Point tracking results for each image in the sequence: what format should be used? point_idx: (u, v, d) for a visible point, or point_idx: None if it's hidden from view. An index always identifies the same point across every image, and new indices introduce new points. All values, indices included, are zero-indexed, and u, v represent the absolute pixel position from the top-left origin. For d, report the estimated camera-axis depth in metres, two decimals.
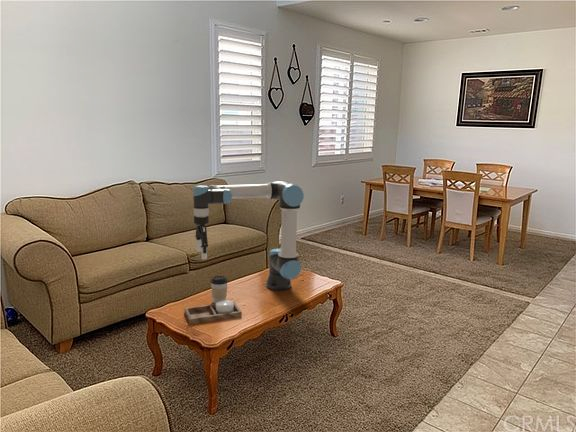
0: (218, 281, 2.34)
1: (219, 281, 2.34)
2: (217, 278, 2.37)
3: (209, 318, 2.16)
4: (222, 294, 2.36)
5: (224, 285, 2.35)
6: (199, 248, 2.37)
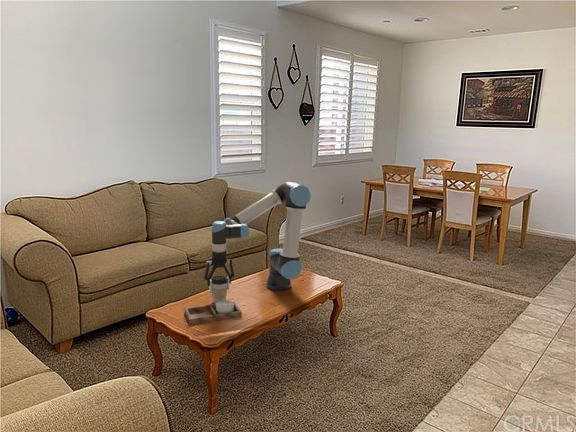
0: (218, 281, 2.34)
1: (219, 281, 2.34)
2: (217, 278, 2.37)
3: (209, 318, 2.16)
4: (222, 294, 2.36)
5: (224, 285, 2.35)
6: (227, 286, 2.40)
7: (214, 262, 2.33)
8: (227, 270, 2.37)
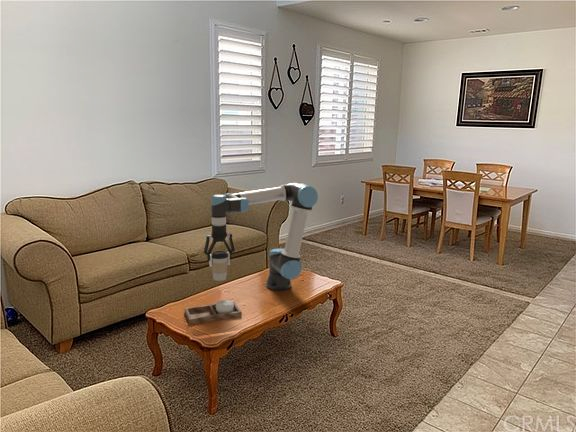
0: (218, 255, 2.31)
1: (219, 255, 2.31)
2: (217, 253, 2.34)
3: (209, 318, 2.16)
4: (222, 268, 2.33)
5: (224, 260, 2.32)
6: None
7: (214, 236, 2.30)
8: (227, 244, 2.34)
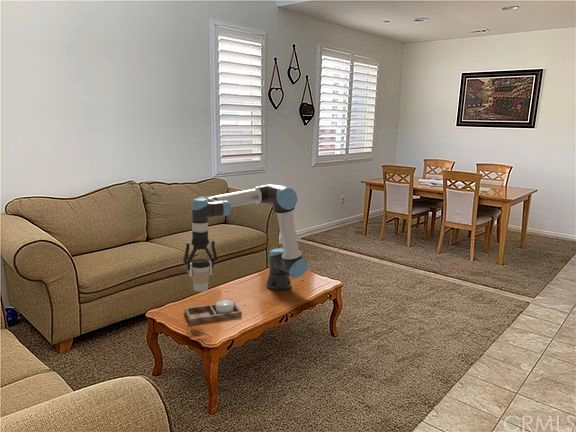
0: (199, 264, 2.12)
1: (200, 264, 2.12)
2: (198, 261, 2.16)
3: (209, 318, 2.16)
4: (203, 278, 2.14)
5: (205, 269, 2.14)
6: (209, 270, 2.19)
7: (194, 243, 2.12)
8: (209, 252, 2.15)
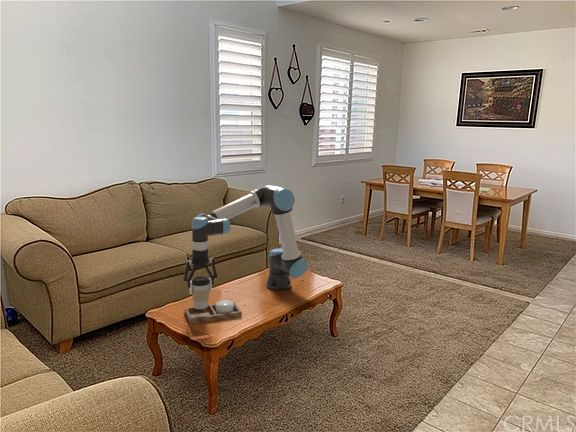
0: (199, 282, 2.14)
1: (200, 282, 2.14)
2: (198, 279, 2.17)
3: (209, 318, 2.16)
4: (203, 296, 2.16)
5: (206, 287, 2.15)
6: (209, 288, 2.20)
7: (195, 262, 2.13)
8: (209, 270, 2.17)
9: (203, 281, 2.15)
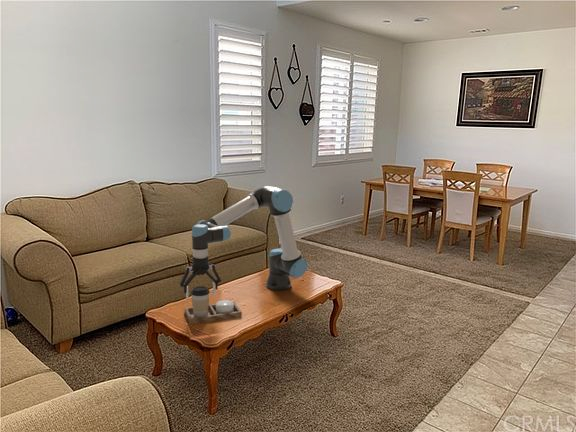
0: (199, 292, 2.15)
1: (200, 292, 2.15)
2: (198, 289, 2.19)
3: (209, 318, 2.16)
4: (203, 306, 2.17)
5: (205, 296, 2.17)
6: (213, 292, 2.21)
7: (195, 269, 2.14)
8: (211, 276, 2.18)
9: (203, 291, 2.16)
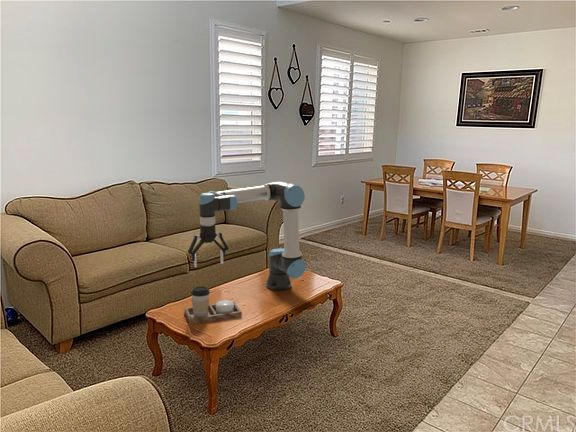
0: (199, 293, 2.15)
1: (200, 293, 2.15)
2: (198, 289, 2.18)
3: (209, 318, 2.16)
4: (203, 306, 2.17)
5: (205, 297, 2.16)
6: (221, 260, 2.25)
7: (202, 237, 2.18)
8: (219, 244, 2.22)
9: (203, 291, 2.16)
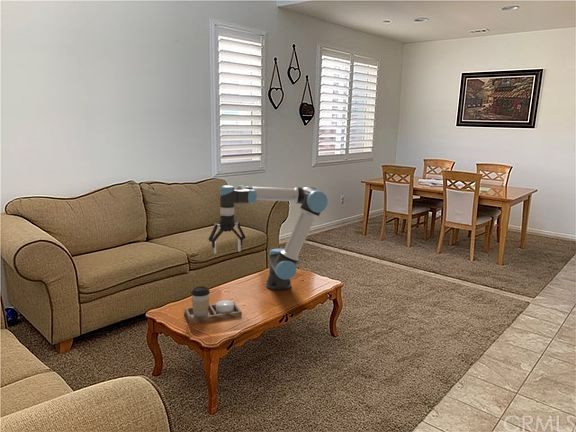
0: (199, 293, 2.15)
1: (200, 293, 2.15)
2: (198, 289, 2.18)
3: (209, 318, 2.16)
4: (203, 306, 2.17)
5: (205, 297, 2.16)
6: (238, 248, 2.44)
7: (222, 226, 2.37)
8: (237, 233, 2.41)
9: (203, 291, 2.16)
